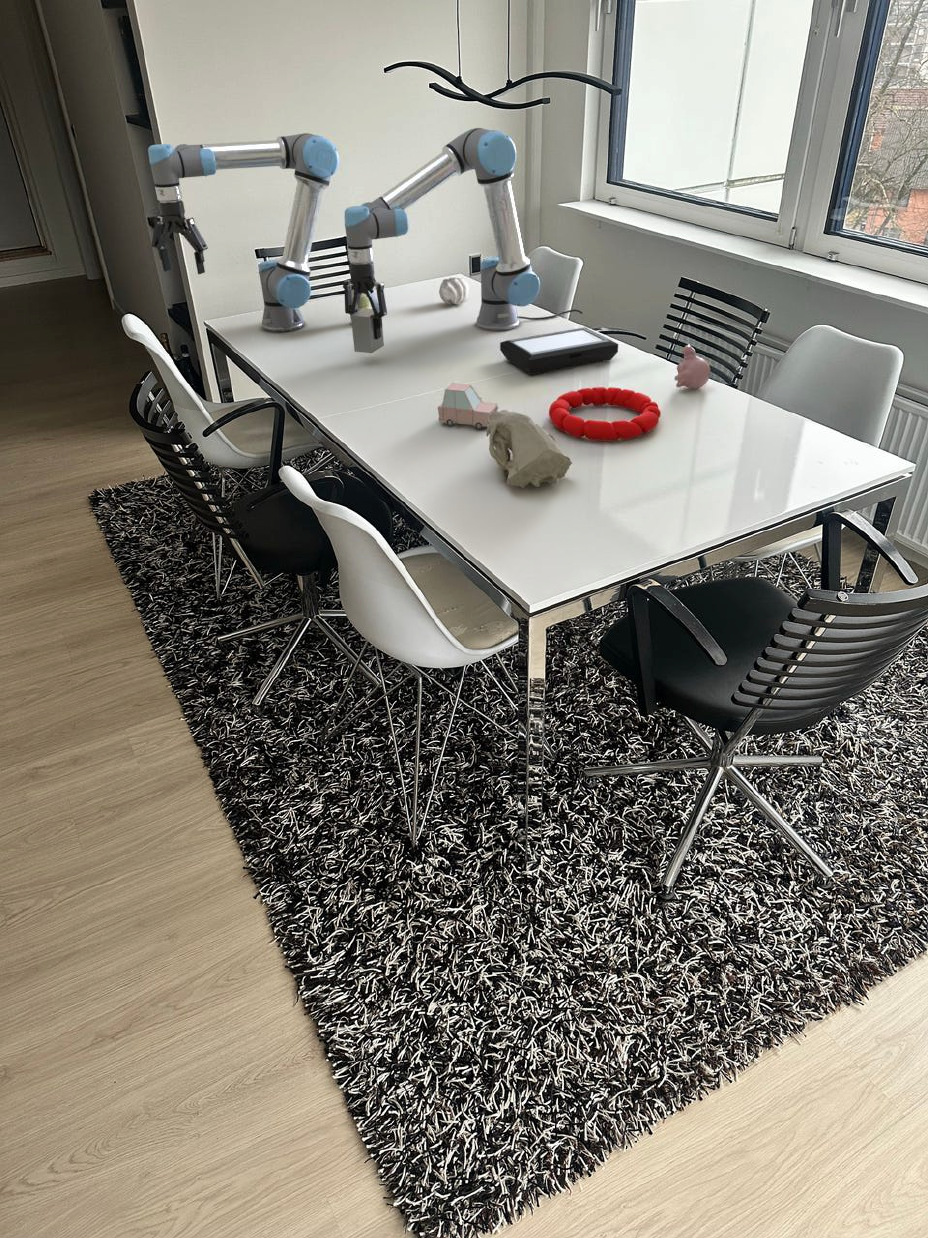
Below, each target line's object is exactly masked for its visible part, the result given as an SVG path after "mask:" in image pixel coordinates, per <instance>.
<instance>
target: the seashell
mask: <svg viewBox="0 0 928 1238" xmlns="http://www.w3.org/2000/svg"><path fill="white" fill-rule="evenodd" d="M438 294H439V297H440V299H441V300H442V302H443V303H445V304H447V305H459V304H462V303H464V302H465V301H466V299H467V298H468V296H469V295H470V286H469V284H468V283H467V281H466V280H464V279H463V278H462V277H461V278H460V277H449V278H445V279H443V280H442V282H441V283H440V285H439V289H438Z"/></svg>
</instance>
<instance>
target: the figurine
mask: <svg viewBox="0 0 928 1238" xmlns="http://www.w3.org/2000/svg"><path fill="white" fill-rule="evenodd" d="M682 354H683V358H684V359H683V361H682V362H679V363H678V364H677V365H676V372H677V375H675V376H674V381H675V382H676V381H677V382H676V384H675V386H676V388H681V387H686V388H688V389H693V390H694V389H695V390H696V389H700V388H703V387H704V386H705V385H706V384H707V383H708V382H709V379H710V377H711V367H710V364H709V362H708V361H706V359H704V358H702V357H700V356H697V353H696V350H695V349H694V347H692V345H690V344H686V345H685V346H684V347H683V348H682Z"/></svg>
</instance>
